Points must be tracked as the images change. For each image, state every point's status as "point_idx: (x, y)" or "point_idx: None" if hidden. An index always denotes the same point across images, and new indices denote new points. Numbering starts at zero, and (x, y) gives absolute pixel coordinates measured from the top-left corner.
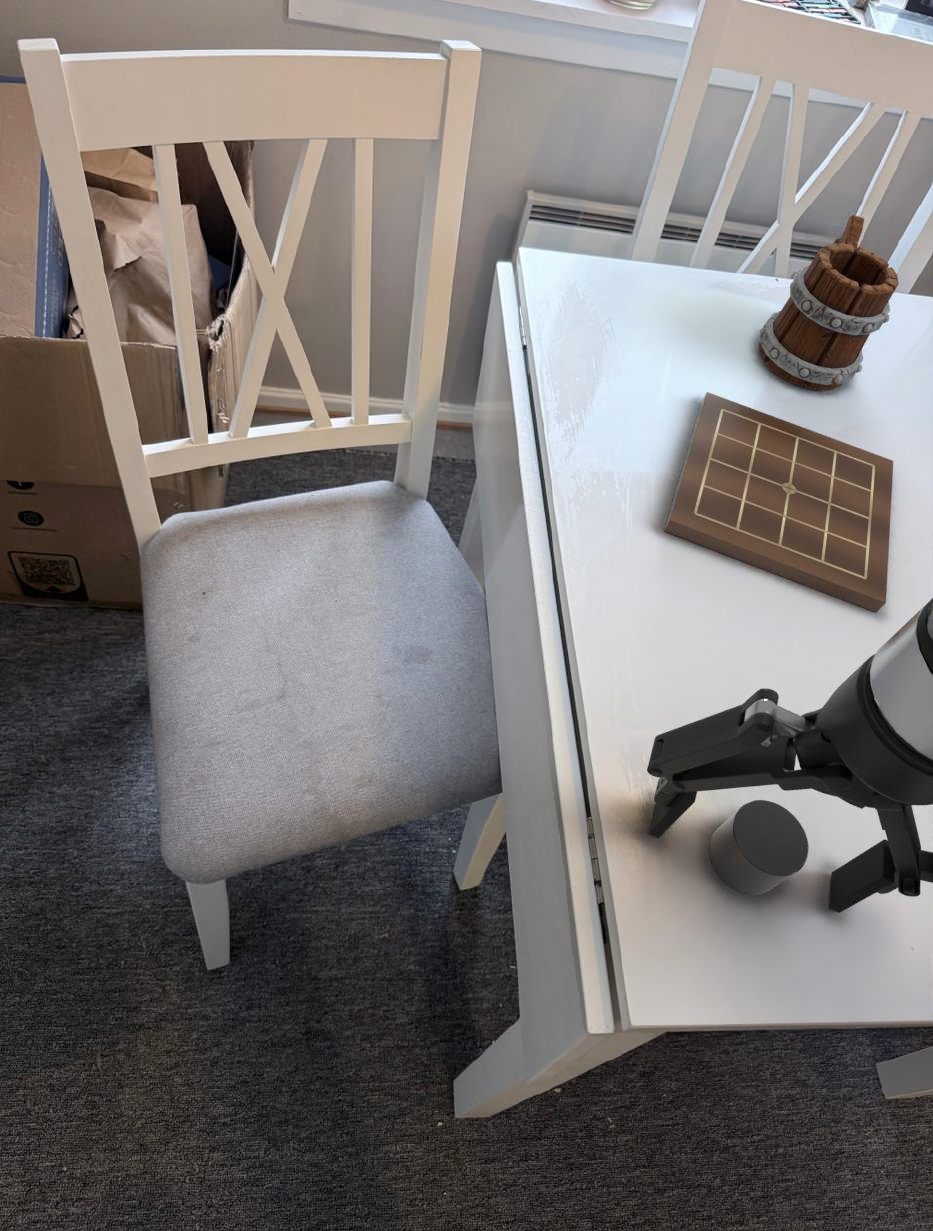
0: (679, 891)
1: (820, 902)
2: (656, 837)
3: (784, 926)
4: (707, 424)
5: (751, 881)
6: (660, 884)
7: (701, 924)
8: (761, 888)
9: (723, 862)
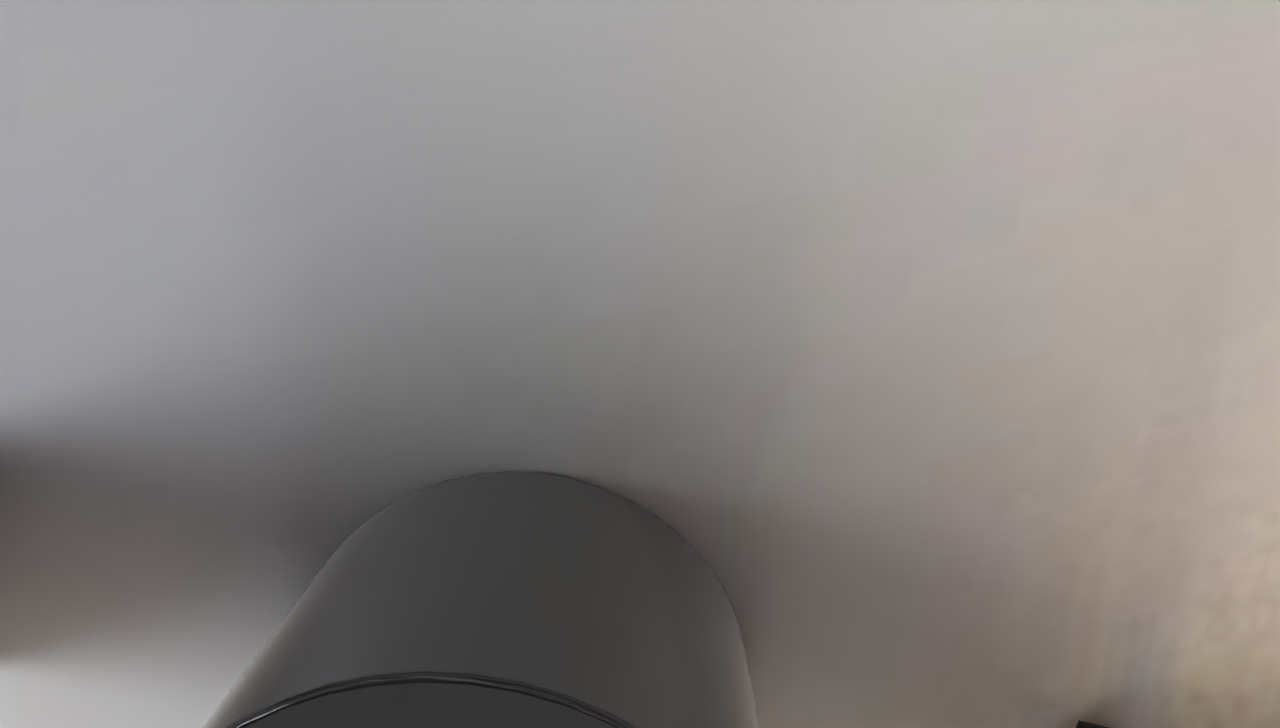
0: (969, 425)
1: (43, 489)
2: (1090, 724)
3: (285, 308)
4: None
5: (564, 565)
6: (1090, 450)
7: (848, 240)
8: (466, 523)
9: (733, 657)
